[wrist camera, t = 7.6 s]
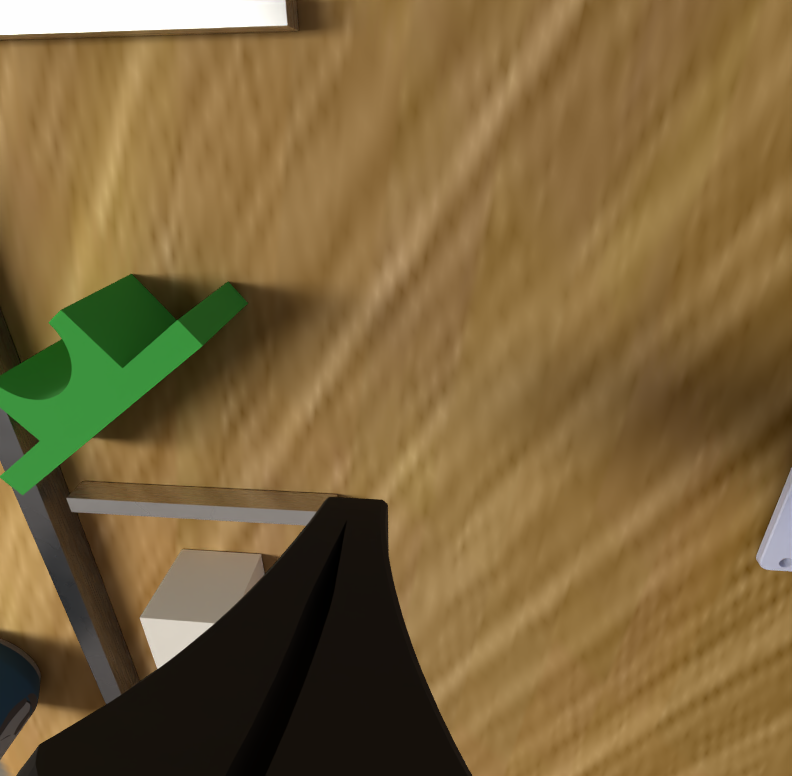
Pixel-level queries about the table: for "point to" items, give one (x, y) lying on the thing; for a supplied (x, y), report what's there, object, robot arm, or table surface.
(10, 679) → the soda can
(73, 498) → the grey pronged frame
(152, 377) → the pipe clamp
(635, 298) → the table surface
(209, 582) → the seated block
